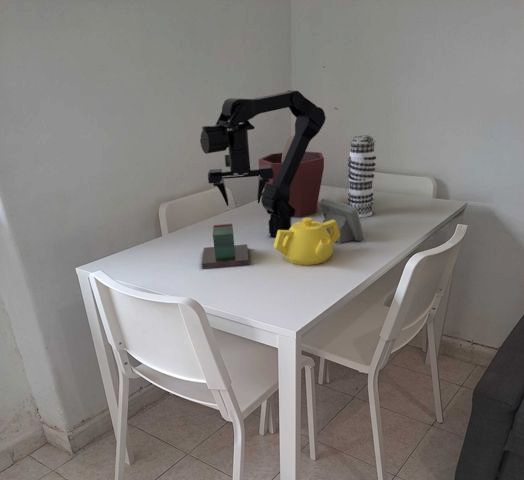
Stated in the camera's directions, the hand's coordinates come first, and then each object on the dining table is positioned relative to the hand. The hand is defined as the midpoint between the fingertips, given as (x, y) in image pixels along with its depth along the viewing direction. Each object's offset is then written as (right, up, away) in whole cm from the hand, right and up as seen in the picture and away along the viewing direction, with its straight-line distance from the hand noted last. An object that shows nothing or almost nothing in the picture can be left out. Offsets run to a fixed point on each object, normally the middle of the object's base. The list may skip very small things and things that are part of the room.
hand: (243, 204), depth 147 cm
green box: (-5, -16, -5) cm, 17 cm away
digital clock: (+30, -8, +6) cm, 32 cm away
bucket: (+18, +7, +33) cm, 38 cm away
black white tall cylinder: (+40, +4, +25) cm, 47 cm away
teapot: (+19, -18, -9) cm, 28 cm away
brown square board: (-5, -17, -4) cm, 18 cm away
